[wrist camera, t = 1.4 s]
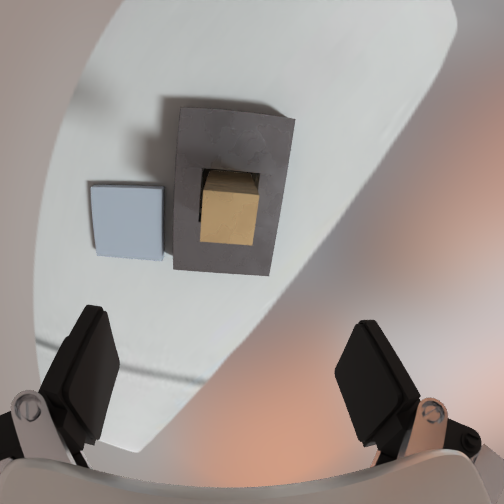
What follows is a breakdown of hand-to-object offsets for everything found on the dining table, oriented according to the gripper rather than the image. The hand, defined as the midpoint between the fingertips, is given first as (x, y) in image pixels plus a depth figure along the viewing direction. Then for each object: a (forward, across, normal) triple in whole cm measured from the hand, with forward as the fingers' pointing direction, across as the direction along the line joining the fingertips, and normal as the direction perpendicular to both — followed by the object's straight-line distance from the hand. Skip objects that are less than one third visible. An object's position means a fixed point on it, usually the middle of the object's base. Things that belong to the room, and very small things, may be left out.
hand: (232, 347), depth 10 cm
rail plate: (+20, 0, -1) cm, 20 cm away
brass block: (+20, 0, -1) cm, 20 cm away
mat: (+20, +10, +3) cm, 23 cm away
